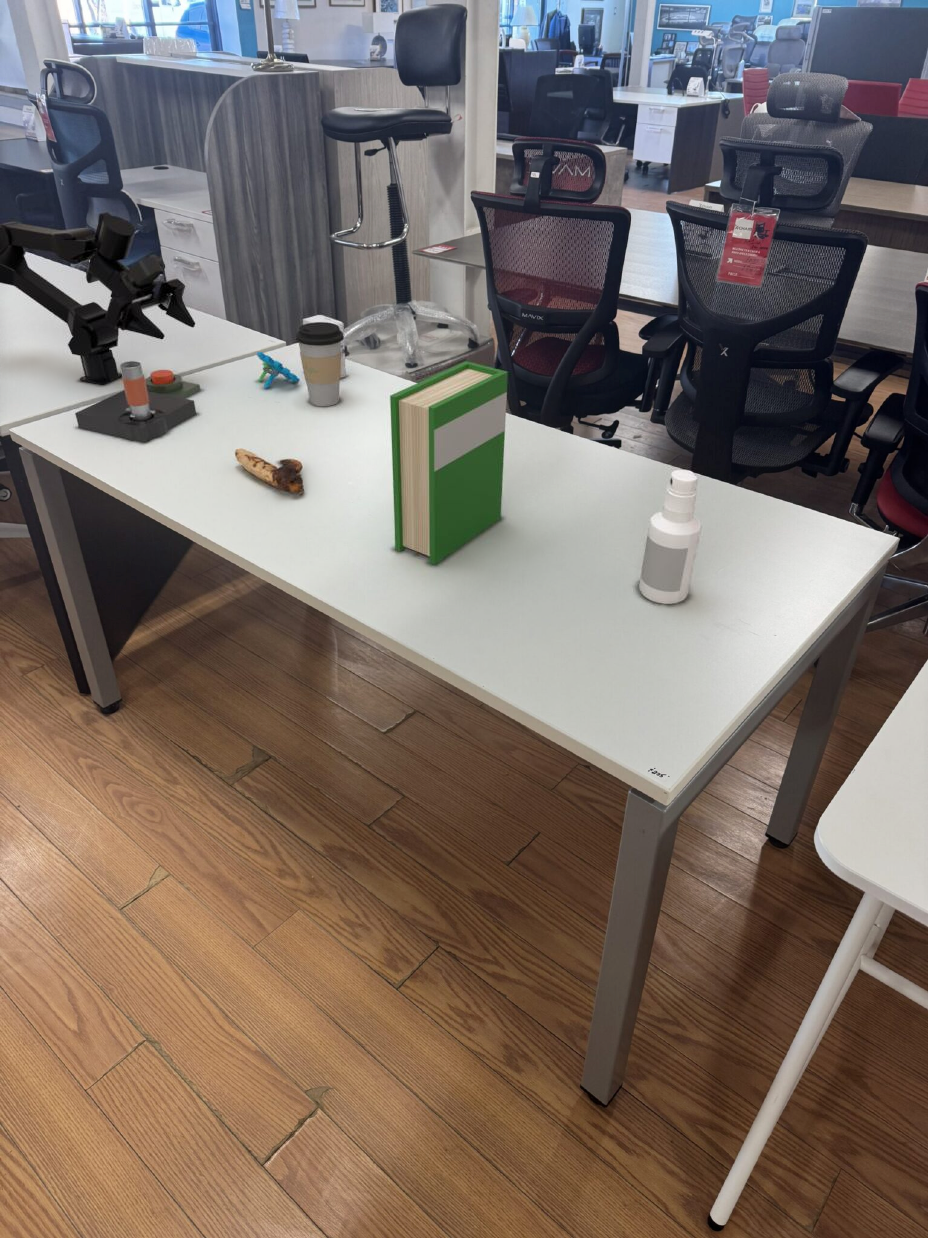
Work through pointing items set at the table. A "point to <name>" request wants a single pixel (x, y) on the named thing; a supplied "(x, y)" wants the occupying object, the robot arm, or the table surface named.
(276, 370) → the blue toy gun
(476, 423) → the hardback book
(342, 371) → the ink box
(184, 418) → the grinder base
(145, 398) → the silver-capped orange cylinder
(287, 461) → the lashed bone hook
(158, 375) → the release button
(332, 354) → the coffee cup
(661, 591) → the spray bottle
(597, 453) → the table surface
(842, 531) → the table surface
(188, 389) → the button block
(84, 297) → the table surface
